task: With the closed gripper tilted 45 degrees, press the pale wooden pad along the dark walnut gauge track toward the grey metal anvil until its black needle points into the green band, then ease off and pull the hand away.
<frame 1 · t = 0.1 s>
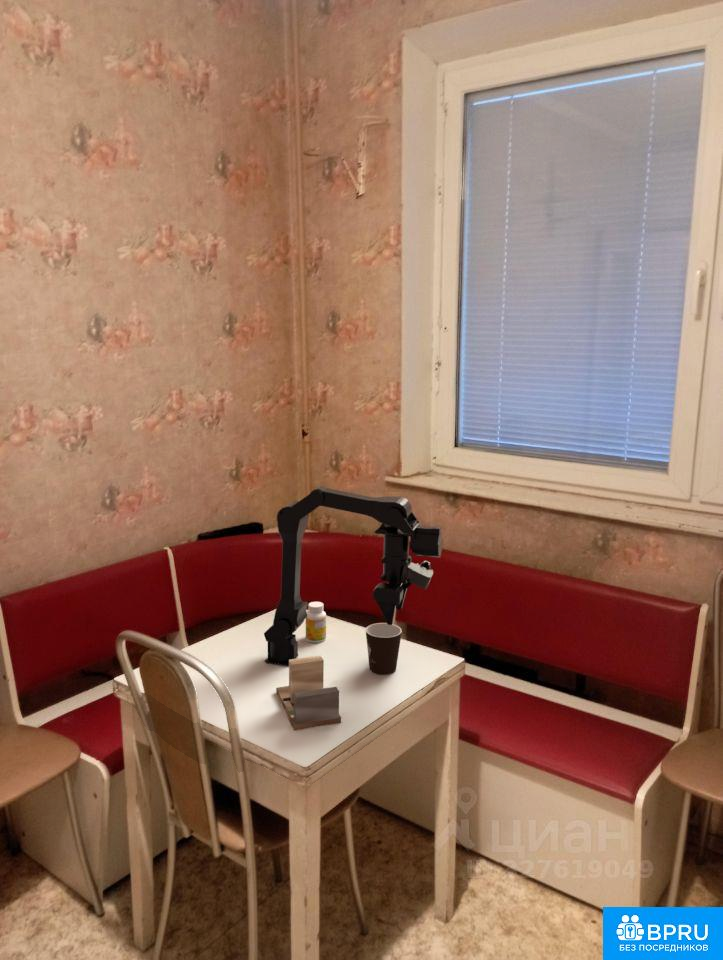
hand: (394, 617, 167), 15 cm above the table, tool pointing down, fingers open, 9 cm apart
coffee mug: (383, 667, 175), on the table
supplement bottle: (315, 639, 190), on the table
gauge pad: (302, 679, 155), point 6 cm above the table, slide at 0.0 cm
gauge track: (307, 706, 155), on the table
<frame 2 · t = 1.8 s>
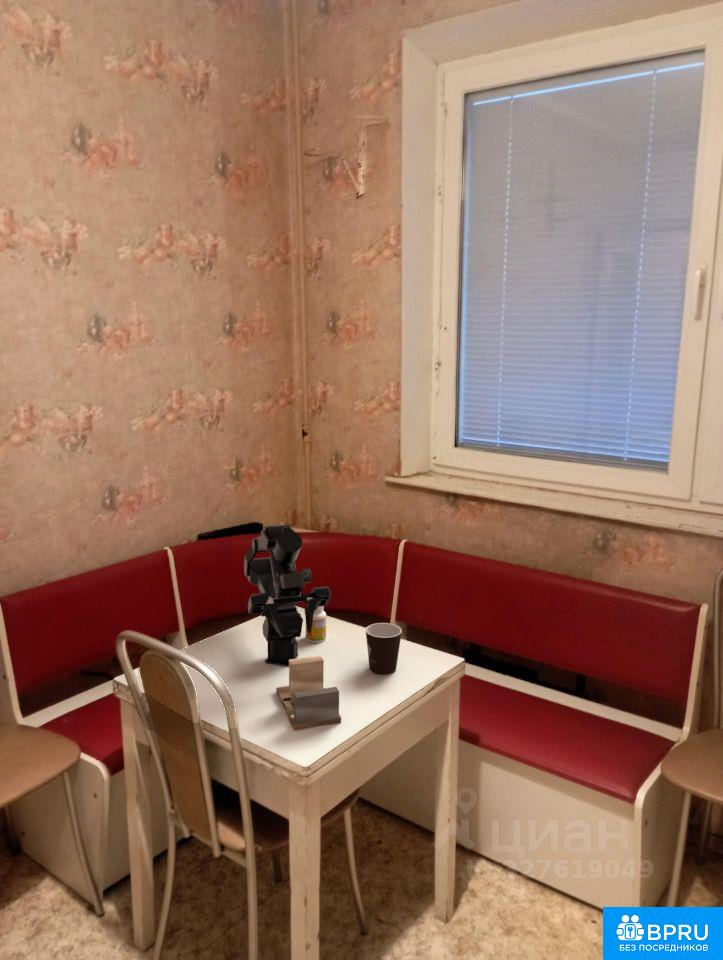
hand: (296, 634, 162), 13 cm above the table, tool tilted 45°, fingers open, 6 cm apart
nothing on the table moved.
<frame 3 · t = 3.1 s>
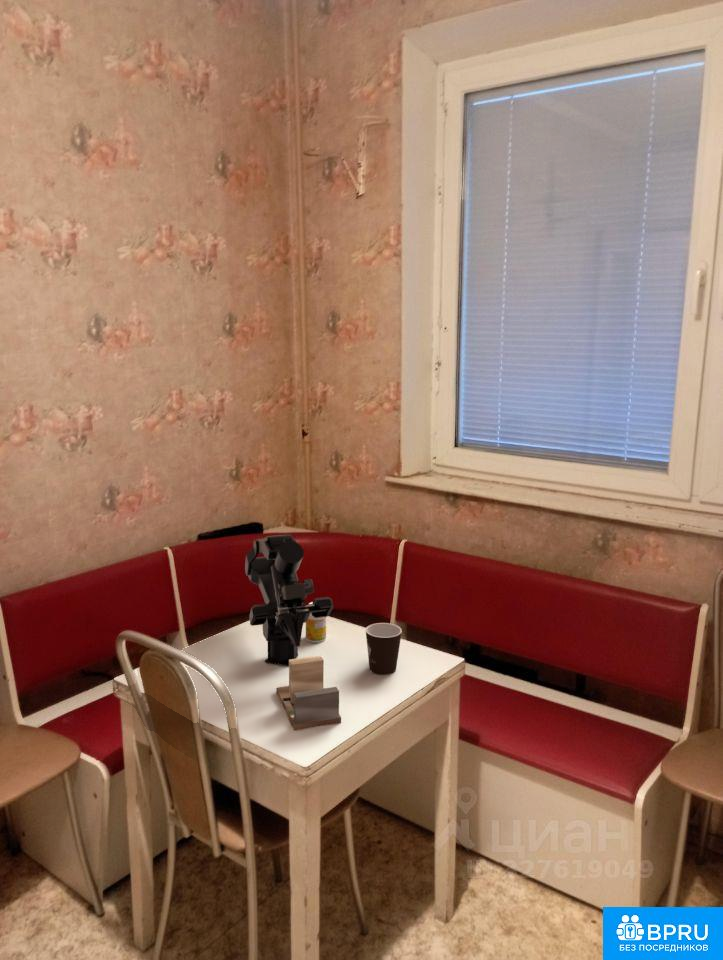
hand: (297, 646, 161), 10 cm above the table, tool tilted 45°, fingers closed
nothing on the table moved.
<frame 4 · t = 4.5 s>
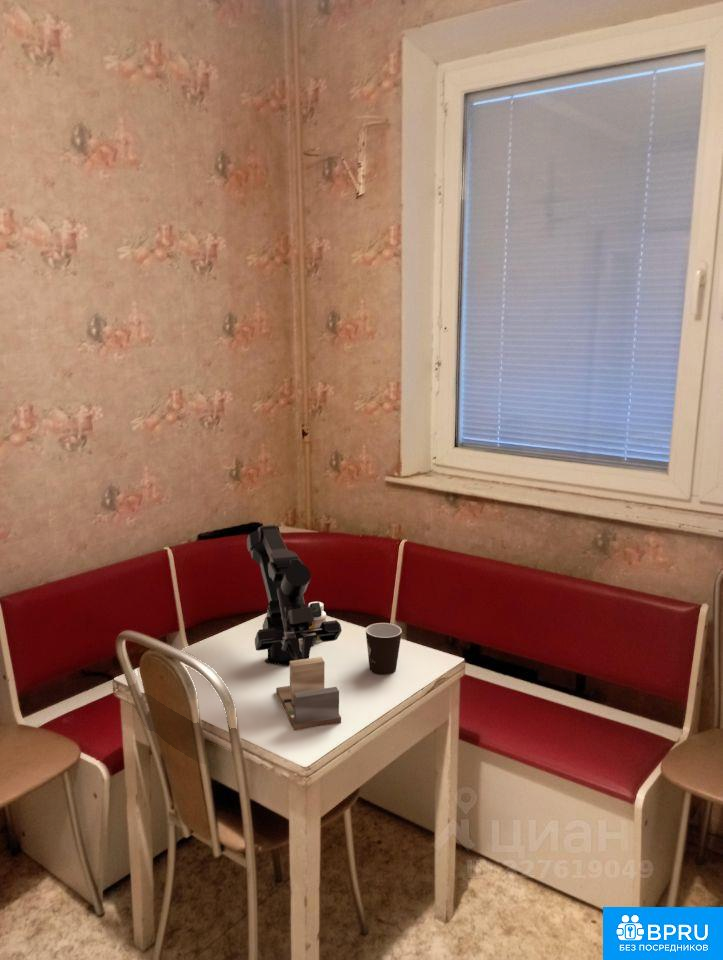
hand: (305, 672, 155), 7 cm above the table, tool tilted 45°, fingers closed, pressing on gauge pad
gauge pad: (303, 681, 154), point 6 cm above the table, slide at 0.7 cm, touching gripper
everything else where it was.
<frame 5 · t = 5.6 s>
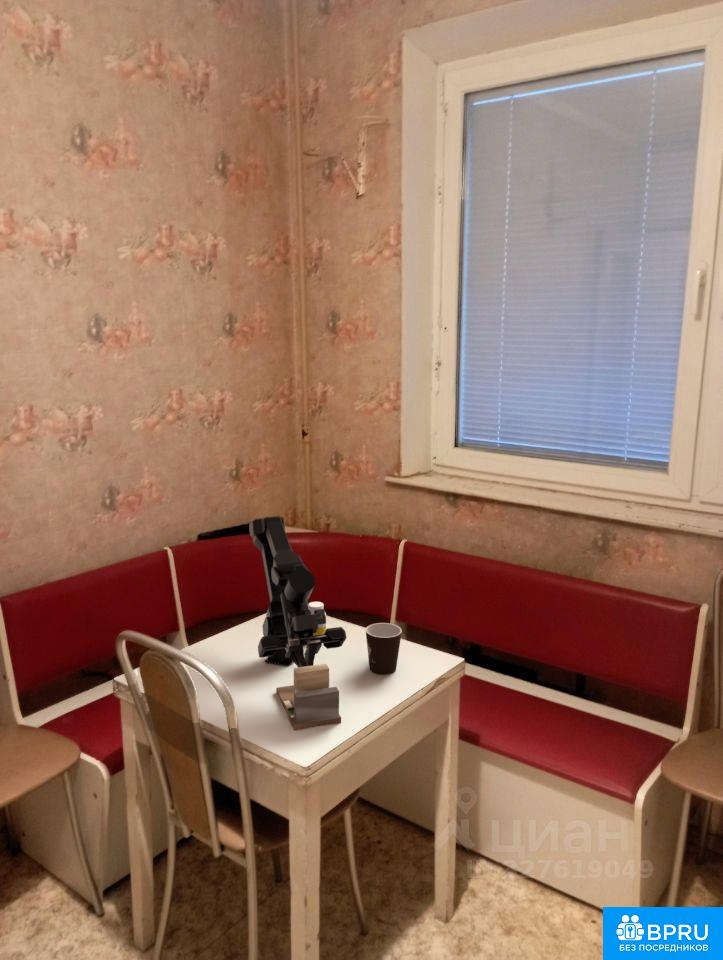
hand: (309, 680, 152), 7 cm above the table, tool tilted 45°, fingers closed, pressing on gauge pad
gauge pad: (307, 688, 151), point 6 cm above the table, slide at 4.2 cm, touching gripper
everything else where it was.
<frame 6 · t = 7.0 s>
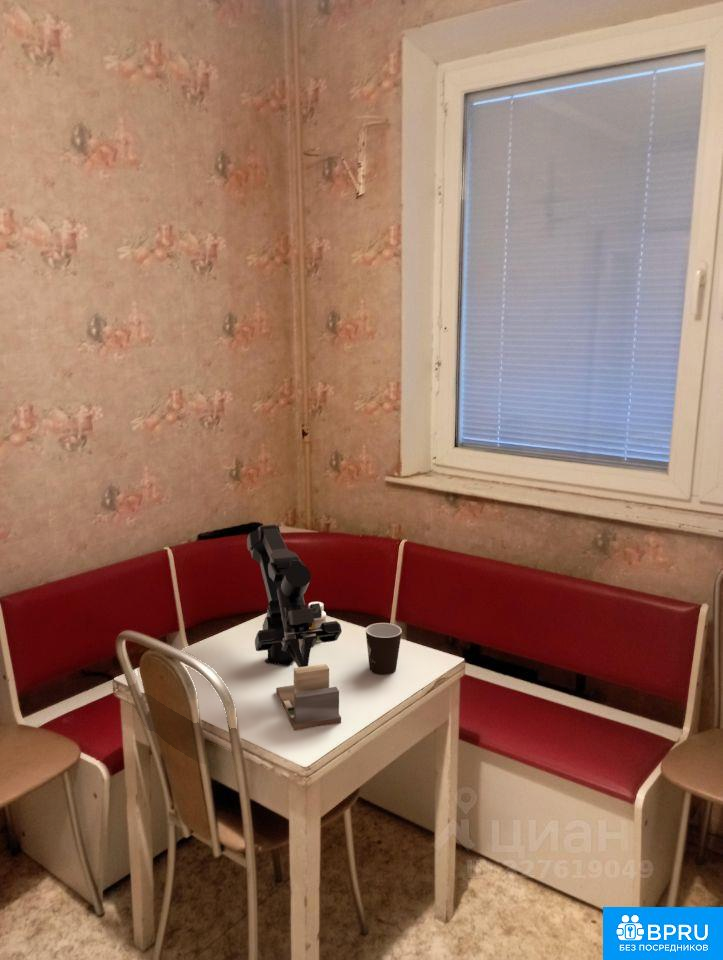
hand: (305, 673, 155), 7 cm above the table, tool tilted 45°, fingers closed
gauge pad: (307, 688, 151), point 6 cm above the table, slide at 4.2 cm
everything else where it was.
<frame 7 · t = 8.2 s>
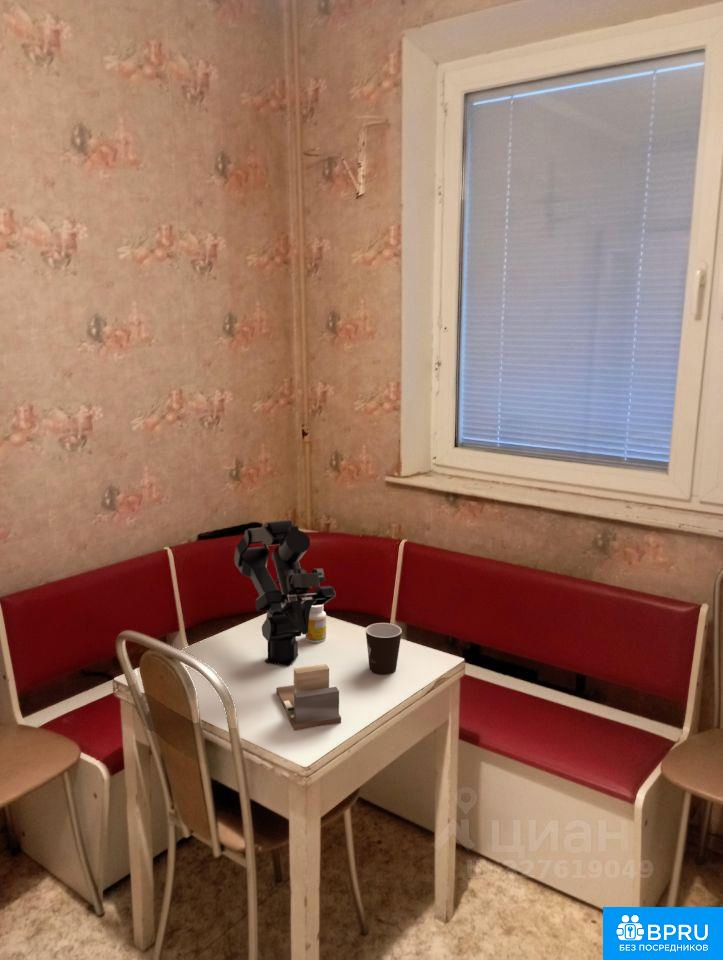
hand: (305, 633, 162), 13 cm above the table, tool tilted 40°, fingers closed
nothing on the table moved.
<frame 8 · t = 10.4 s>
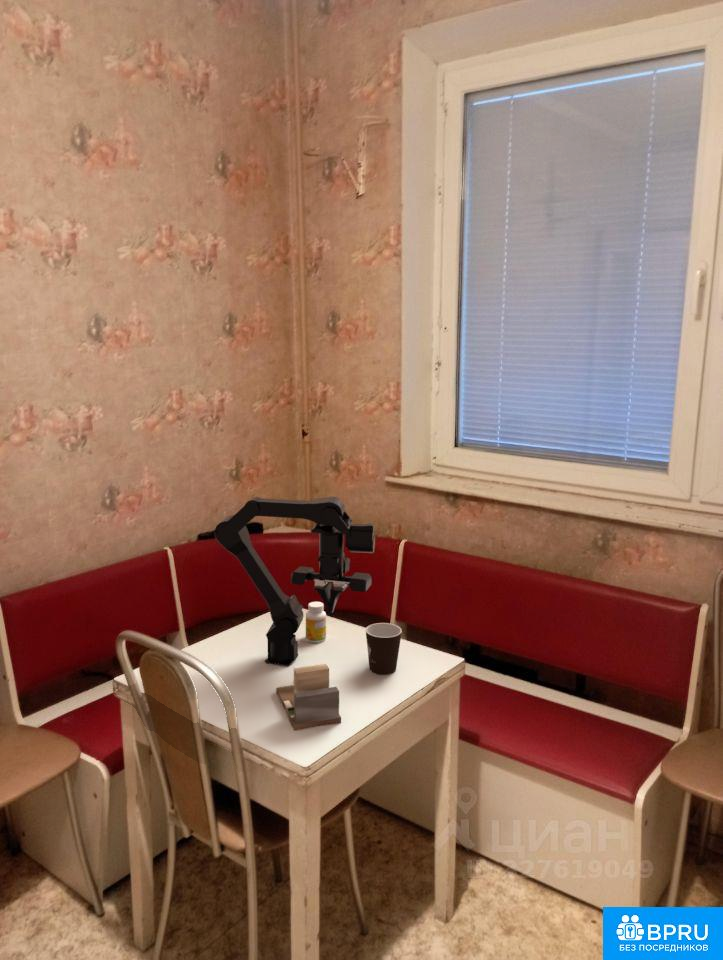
hand: (330, 612, 174), 13 cm above the table, tool pointing down, fingers closed
nothing on the table moved.
at the end: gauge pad slide at 4.2 cm; coffee mug moved 0.2 cm from its start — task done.
